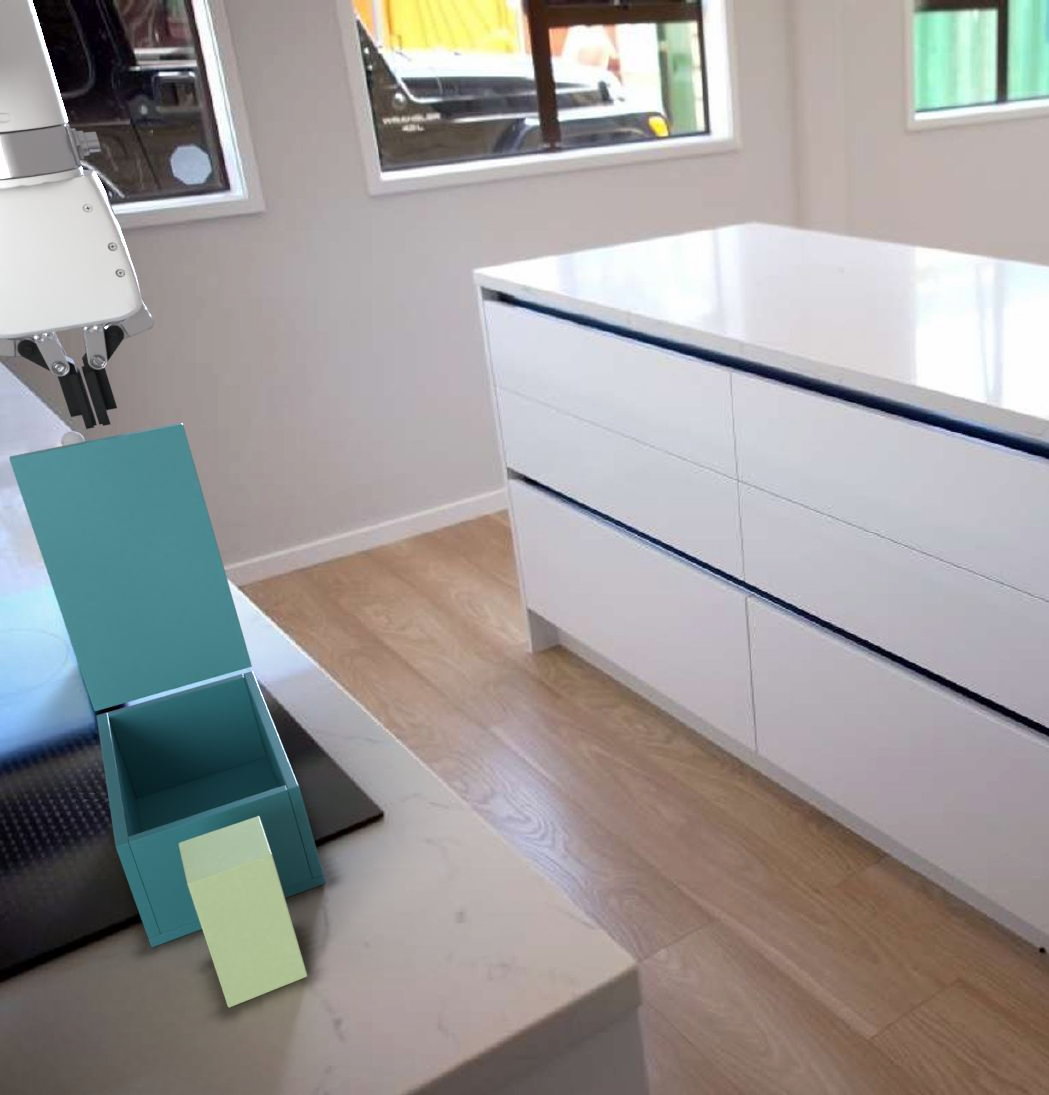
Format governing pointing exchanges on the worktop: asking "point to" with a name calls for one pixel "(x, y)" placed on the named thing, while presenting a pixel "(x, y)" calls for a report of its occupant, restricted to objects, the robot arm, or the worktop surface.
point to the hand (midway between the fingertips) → (97, 421)
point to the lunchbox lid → (133, 562)
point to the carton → (242, 910)
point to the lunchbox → (199, 793)
